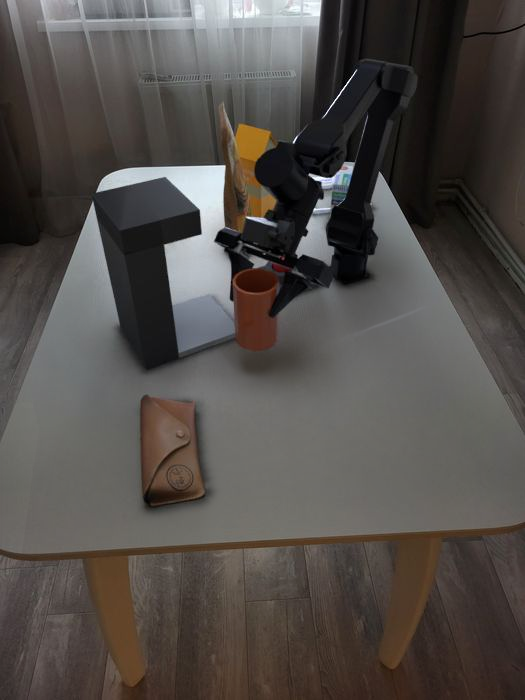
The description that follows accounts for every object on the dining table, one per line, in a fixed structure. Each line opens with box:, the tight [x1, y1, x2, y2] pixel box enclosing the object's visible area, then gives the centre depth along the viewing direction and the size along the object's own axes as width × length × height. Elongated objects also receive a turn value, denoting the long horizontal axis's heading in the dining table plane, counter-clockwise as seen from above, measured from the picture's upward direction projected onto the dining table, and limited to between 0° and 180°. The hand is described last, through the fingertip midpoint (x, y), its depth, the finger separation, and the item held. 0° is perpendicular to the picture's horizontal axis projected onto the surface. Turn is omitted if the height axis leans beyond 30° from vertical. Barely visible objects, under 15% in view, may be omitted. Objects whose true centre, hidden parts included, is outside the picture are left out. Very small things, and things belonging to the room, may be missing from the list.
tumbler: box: [233, 267, 280, 352], centre depth 86 cm, size 7×7×11 cm
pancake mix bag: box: [218, 100, 252, 233], centre depth 115 cm, size 7×19×28 cm, turn 178°
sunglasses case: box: [139, 394, 206, 507], centre depth 79 cm, size 18×7×7 cm
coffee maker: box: [91, 176, 235, 371], centre depth 92 cm, size 18×13×26 cm
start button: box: [273, 257, 291, 272], centre depth 109 cm, size 4×4×2 cm
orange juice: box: [234, 122, 278, 218], centre depth 128 cm, size 8×9×20 cm
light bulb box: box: [329, 164, 354, 217], centre depth 128 cm, size 11×7×11 cm, turn 168°
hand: (250, 308), depth 85 cm, fingers closed on tumbler, 7 cm apart
